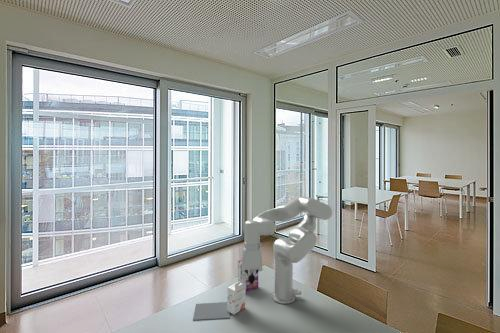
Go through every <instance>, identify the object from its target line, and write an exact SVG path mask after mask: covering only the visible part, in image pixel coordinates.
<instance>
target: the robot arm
mask: <svg viewBox="0 0 500 333" xmlns="http://www.w3.org/2000/svg"><path fill="white" fill-rule="evenodd" d="M302 213H304V216H303V219H302V220H301V222H299V223H298V224H297V225H296V226H295V227H293V228H292V229H291V230H290V231H289V234H288V239H287V238H284V237H280V238H277V239H276V240H275V241H274V242H273V246H272V250H273V252H272V253H273V256H274V257H273V258H274V291H273V292H272V293H271V299H272V300H273V301H274V302H275V303H278V304H282V305H288V304H291V303H294V302H295V301H296V296H297V295H300V296H301V295H302V294H303V293H302V291H301V290H299V289H298V288H295V289H294V288H293V287H294V286H293V284H294V283H293V282H294V281H293V277H294V276H293V273H294V266H293V264H297V263H300V262H301V261H302V260H303V259H304V258H305V257H306V256H307V255H308V254H310V252H311V251H312V250H313V249H314V248H315V246H316V245H317V241H318V239H317V235H316V234H315V231H316V229H317V228H316V227H317V222H316V220H317V219H320V220H322V221H327V220H330V219H331V217H332V216H333V210H332V208H331V206H330V205H329V204H326V203H324V202H322V201H320V200H318V199H315V198H313V197H307V196H301V195H300V196H297V197H295V198H293V199H292V200H290V201H289V202H287V203H284V204H283V205H281V206H279V207H275V208H272V209H271V208H270V209H268V210H265V211H263V212H261V213H260V214H258V215H256V216H254V218H253V219H249V220H246V221H245V222H244V240H243V241H244V243H243V244H244V245H243V247H242V250H241V271H242V272H246V273H247V274H248V281H249V282H250V284H253V281H255V275H256V273H257V272H258V273H260V272H262V271H263V256H262V255H263V254H262V248H261V247H263V245H264V244H263V243H261V236H271V235H273V234H274V233H275V232H276V230H277V226H276V225H277V224H276V223H277V222H289V221H291V220H294V218H296V217H297V216H299V215H301V214H302ZM250 270H253V272H252V274H251V273H250Z"/></svg>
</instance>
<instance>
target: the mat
mask: <svg viewBox="0 0 500 333" xmlns="http://www.w3.org/2000/svg"><path fill="white" fill-rule="evenodd" d="M194 307H195V308H194V312H193V318H192V321H194V322H195V321H206V320H207V321H208V320H211V321H212V320H224V319H230V318H231V313H230V312H228V311H227V301H225V302H223V301H221V302H208V303H207V302H206V303H204V302H203V303H195V306H194Z"/></svg>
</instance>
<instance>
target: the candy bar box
mask: <svg viewBox="0 0 500 333" xmlns="http://www.w3.org/2000/svg"><path fill="white" fill-rule="evenodd" d="M252 272H253V270H250V273H251V274H252ZM244 279H246V292H247V291H251V290H255V289H258V288H259V272H257V273H256V275H255V281H253V284H250V282H249V281H248V274H247V273H246V272H242V271H241V260H237V282H240V281H242V280H244Z"/></svg>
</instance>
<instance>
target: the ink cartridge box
mask: <svg viewBox="0 0 500 333" xmlns="http://www.w3.org/2000/svg"><path fill="white" fill-rule="evenodd" d="M246 292H247V291H246V279H244V280H242V281H240V282H238V281H237V282H235V283H234V284H232V285H230V286H228V287H227V298H226V299H227V301H226V302H227V311H228V312H230V314H231V315H236V314H237V313H239V312H241V311H242V310H243V309H245V307H246Z"/></svg>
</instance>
